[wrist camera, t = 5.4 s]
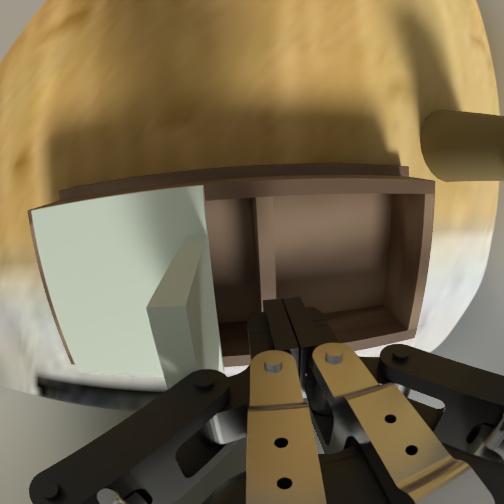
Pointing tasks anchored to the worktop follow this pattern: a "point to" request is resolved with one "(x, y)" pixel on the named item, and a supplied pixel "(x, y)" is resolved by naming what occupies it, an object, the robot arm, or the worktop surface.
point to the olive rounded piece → (464, 146)
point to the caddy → (305, 245)
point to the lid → (133, 282)
